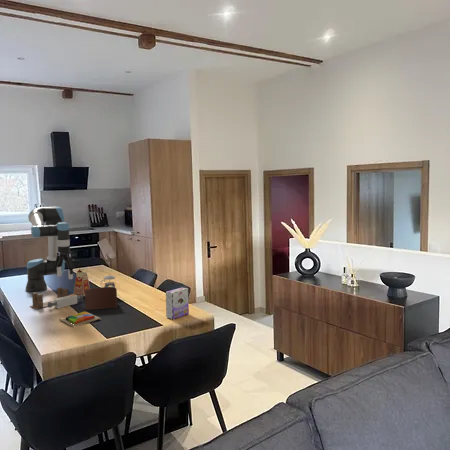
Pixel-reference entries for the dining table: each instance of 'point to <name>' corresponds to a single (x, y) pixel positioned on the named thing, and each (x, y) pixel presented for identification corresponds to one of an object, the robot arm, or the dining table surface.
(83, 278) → the milk carton
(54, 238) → the robot arm
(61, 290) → the cradle rack
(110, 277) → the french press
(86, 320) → the wooden puzzle
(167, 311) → the candy box
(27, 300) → the dining table surface
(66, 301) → the white block with pegs
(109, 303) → the letter holder
